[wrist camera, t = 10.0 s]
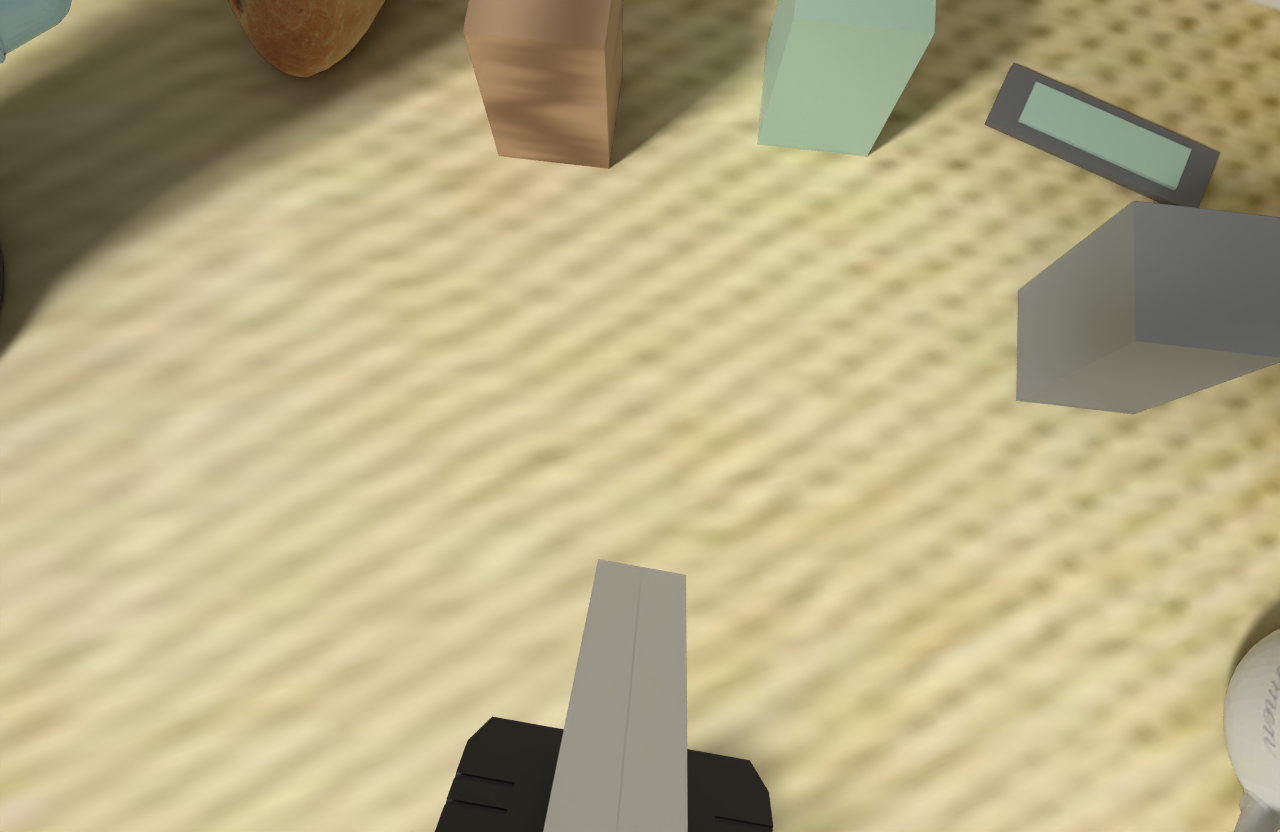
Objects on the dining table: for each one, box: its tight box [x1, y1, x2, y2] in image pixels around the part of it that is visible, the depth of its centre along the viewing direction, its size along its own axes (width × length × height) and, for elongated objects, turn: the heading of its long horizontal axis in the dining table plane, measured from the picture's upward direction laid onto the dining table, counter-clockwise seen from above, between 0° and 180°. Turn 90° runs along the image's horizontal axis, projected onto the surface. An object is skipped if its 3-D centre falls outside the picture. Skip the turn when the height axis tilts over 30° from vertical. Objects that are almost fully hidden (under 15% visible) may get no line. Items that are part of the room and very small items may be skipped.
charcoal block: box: [1016, 201, 1280, 414], centre depth 37 cm, size 6×6×10 cm
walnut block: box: [463, 0, 623, 169], centre depth 40 cm, size 6×6×10 cm
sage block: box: [757, 0, 936, 157], centre depth 40 cm, size 6×6×10 cm
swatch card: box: [985, 63, 1219, 208], centre depth 45 cm, size 12×4×1 cm, turn 63°
